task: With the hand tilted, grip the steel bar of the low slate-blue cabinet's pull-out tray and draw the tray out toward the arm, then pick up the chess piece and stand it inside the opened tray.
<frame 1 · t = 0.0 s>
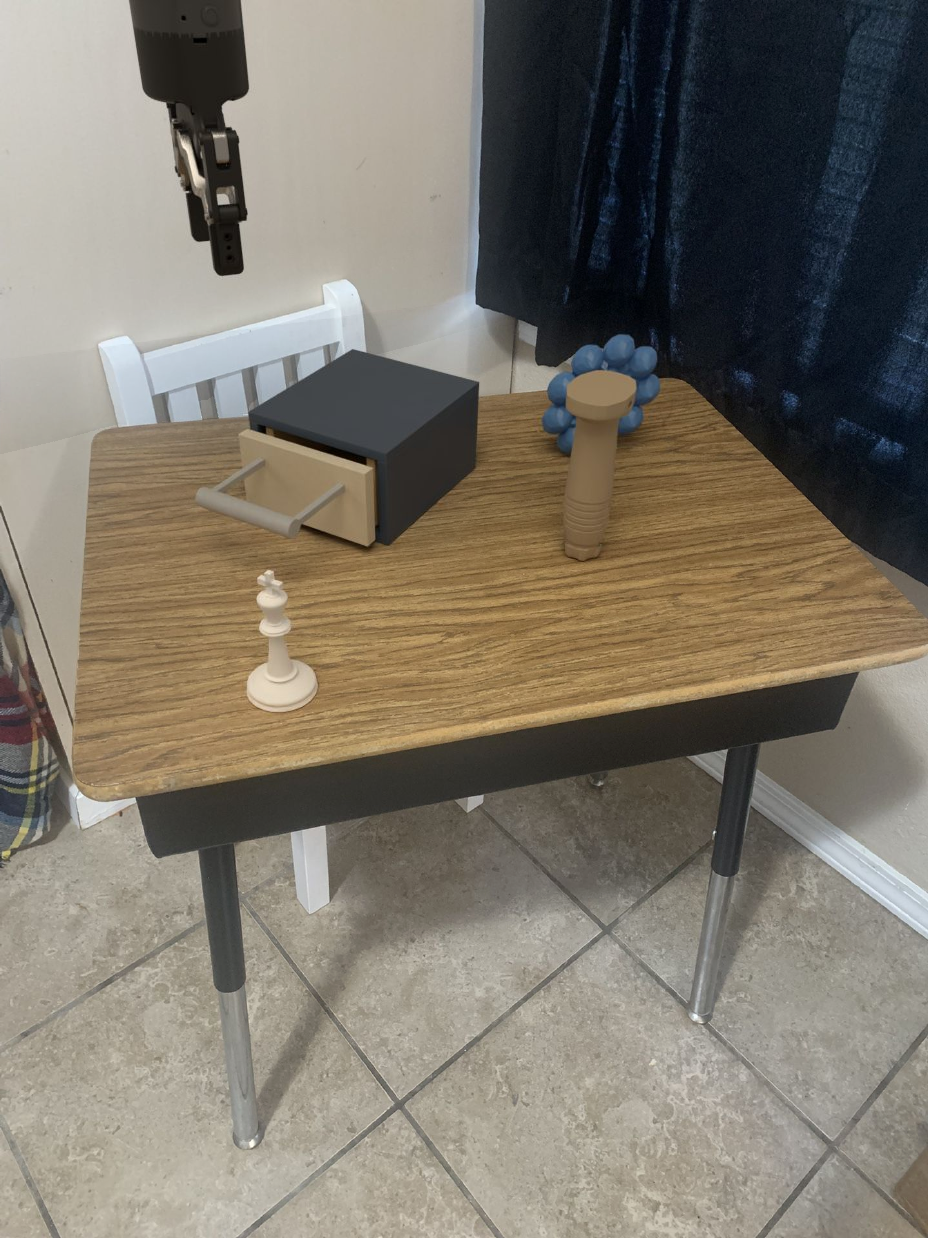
hand: (217, 256, 78), 21 cm above the table, tool pointing down, fingers open, 8 cm apart
handle: (581, 553, 83), on the table
chess piece: (282, 690, 69), on the table
cabinet: (370, 483, 91), on the table
drawer: (326, 472, 84), point 4 cm above the table, slide at 1.0 cm
grapes: (591, 449, 98), on the table
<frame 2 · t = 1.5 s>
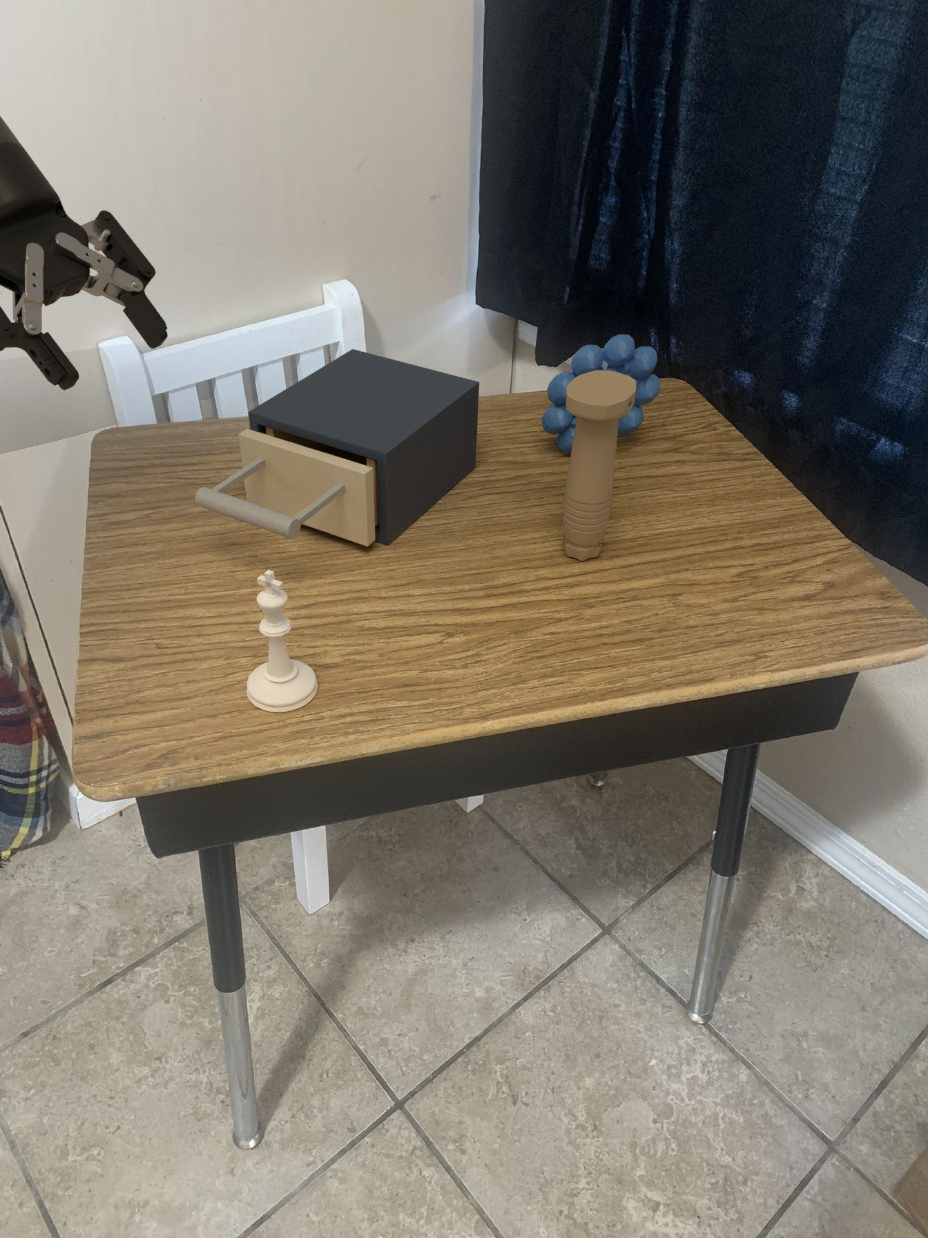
hand: (118, 362, 74), 15 cm above the table, tool tilted 45°, fingers open, 8 cm apart
nothing on the table moved.
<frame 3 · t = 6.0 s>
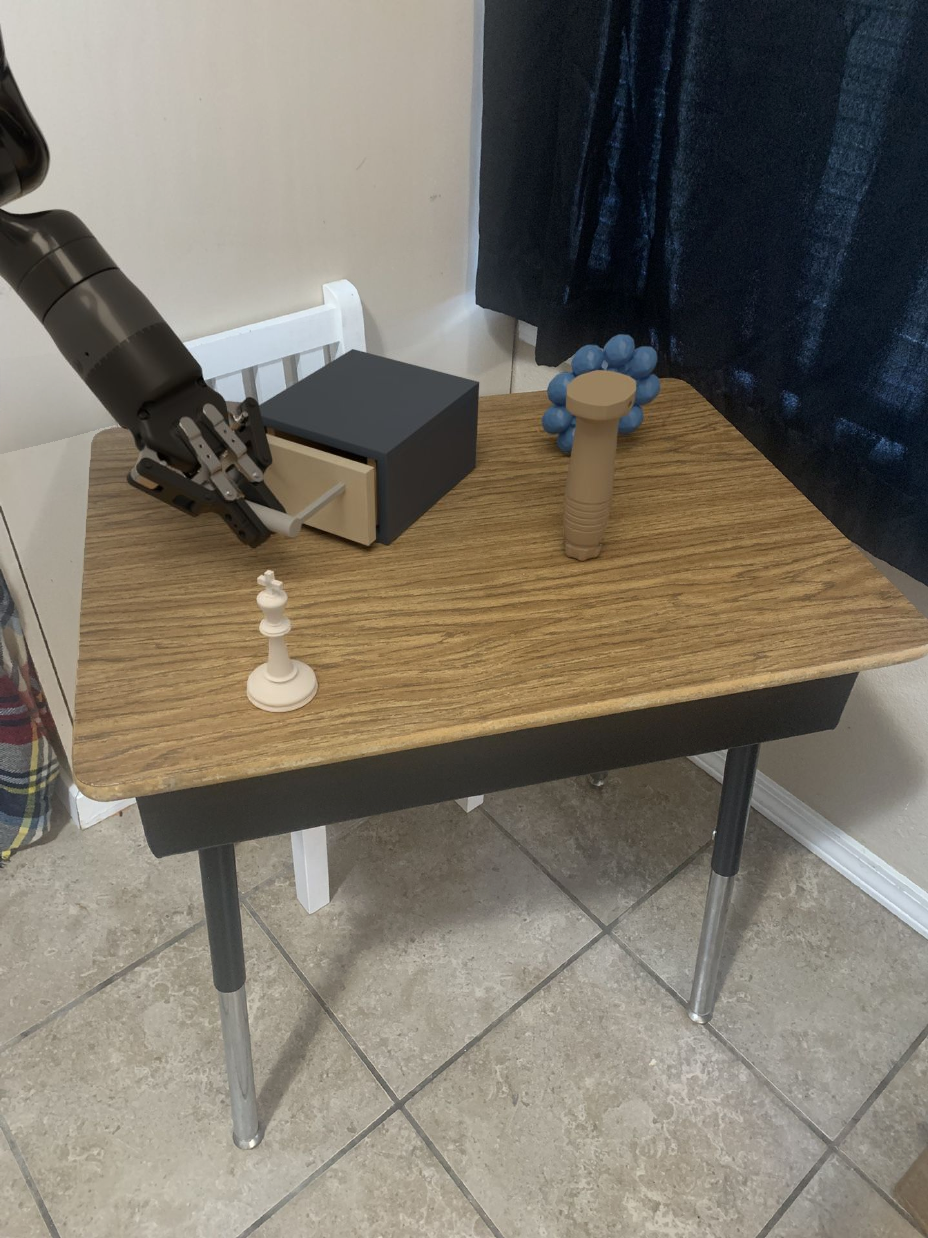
hand: (271, 535, 76), 5 cm above the table, tool tilted 45°, fingers closed on drawer
drawer: (327, 472, 84), point 4 cm above the table, slide at 0.9 cm, touching gripper
everything else where it was.
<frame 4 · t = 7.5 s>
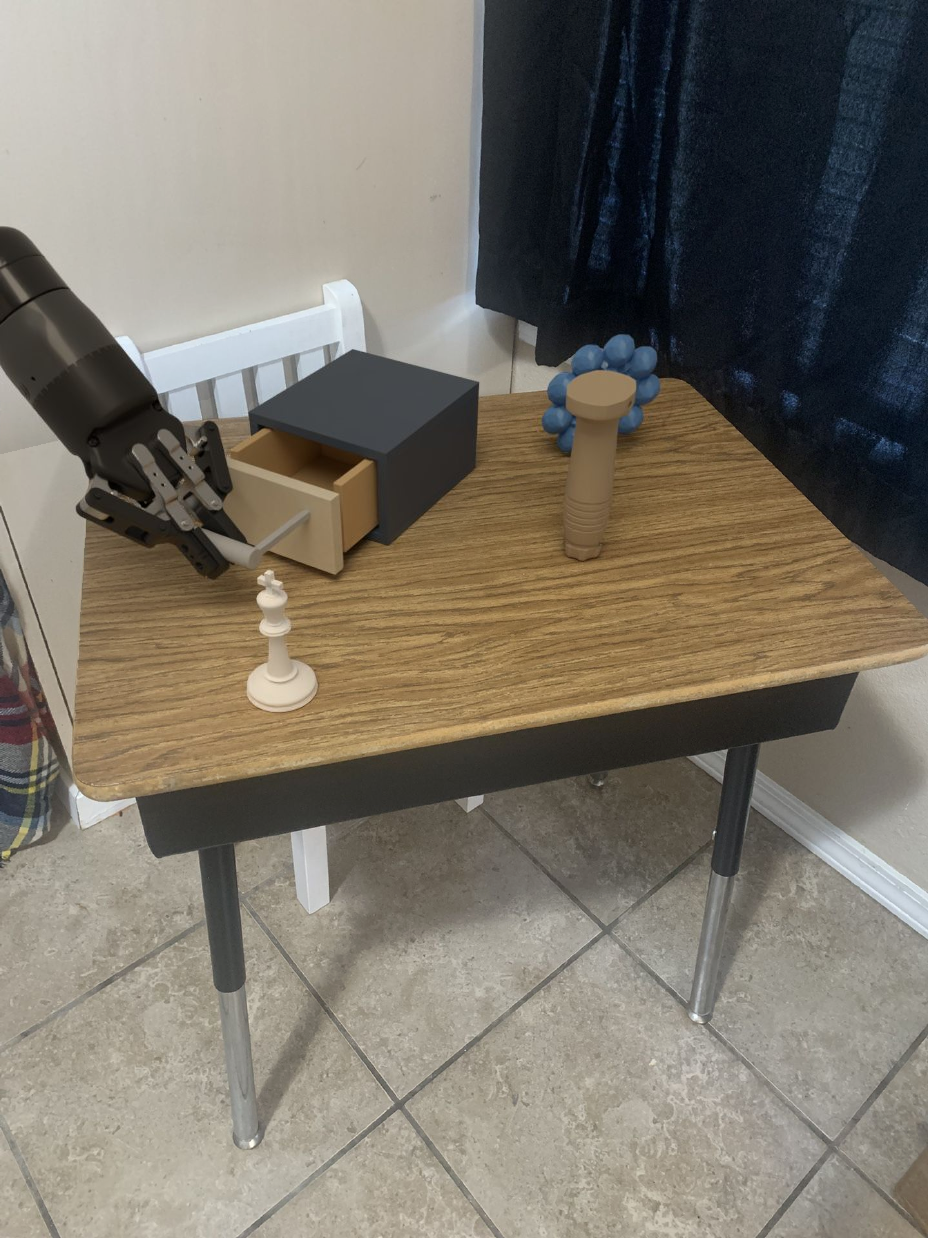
hand: (231, 565, 72), 5 cm above the table, tool tilted 45°, fingers closed on drawer
drawer: (293, 497, 80), point 4 cm above the table, slide at 5.7 cm, touching gripper
everything else where it was.
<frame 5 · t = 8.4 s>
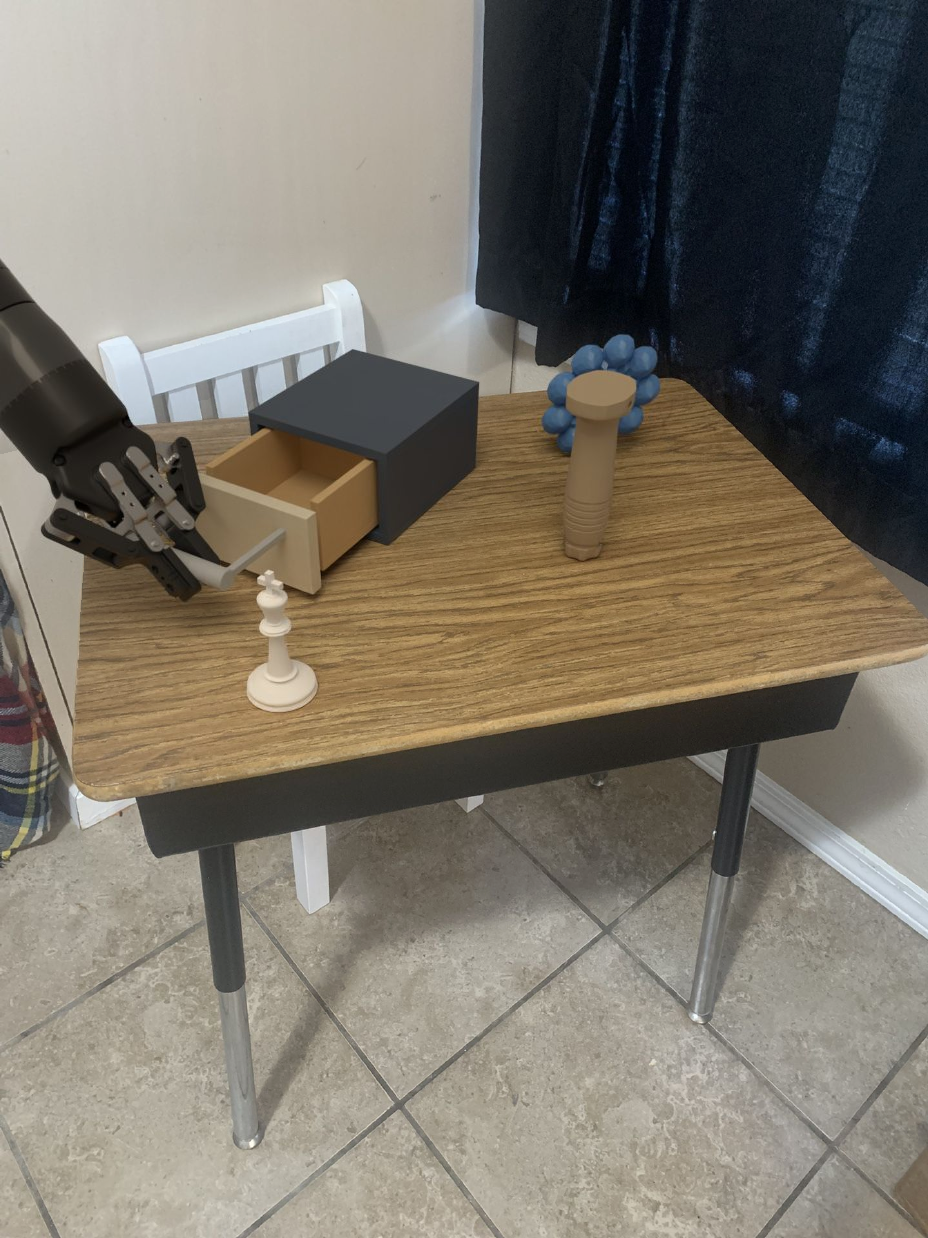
hand: (203, 586, 70), 5 cm above the table, tool tilted 45°, fingers closed on drawer
drawer: (270, 514, 78), point 4 cm above the table, slide at 8.8 cm, touching gripper
everything else where it was.
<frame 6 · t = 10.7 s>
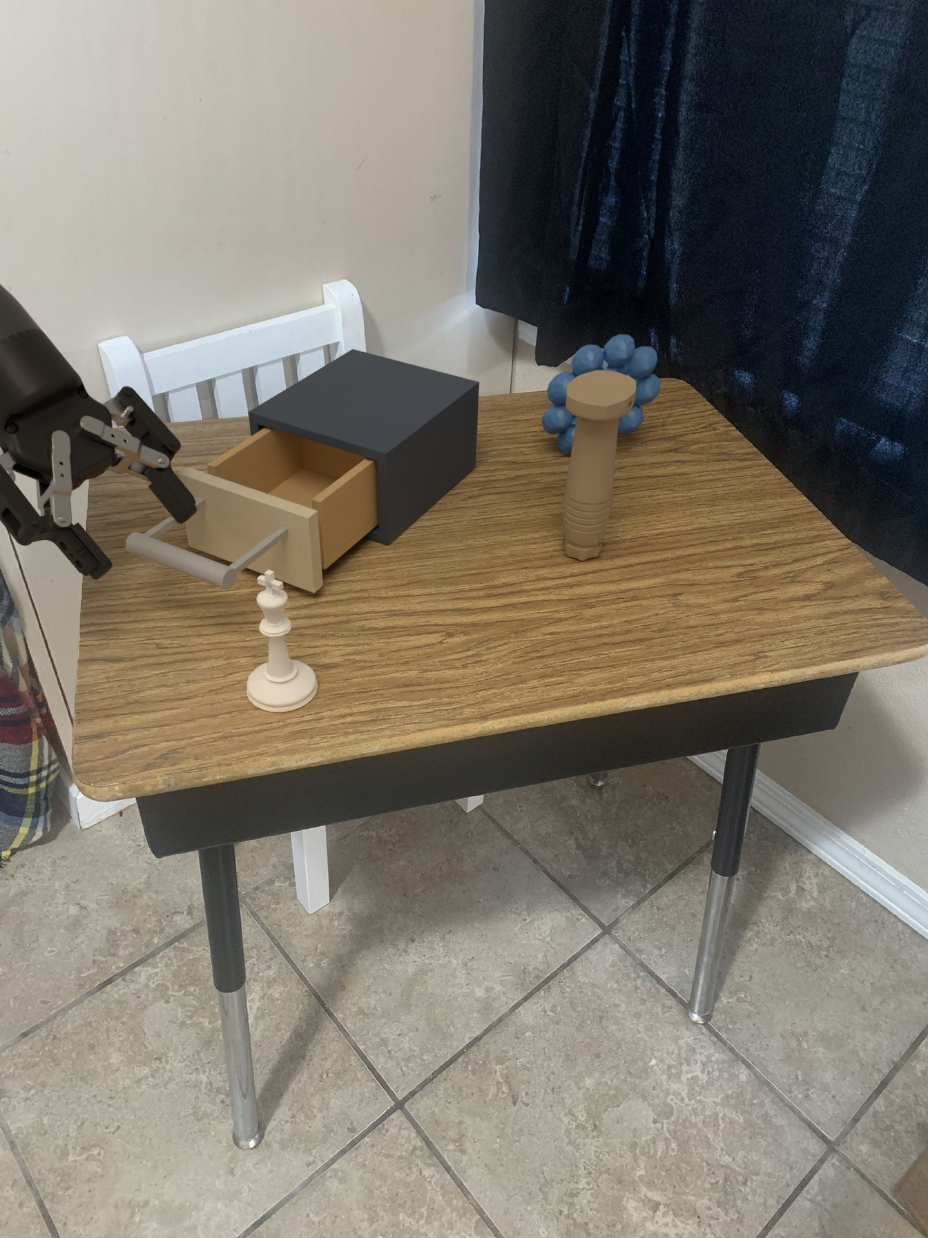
hand: (149, 544, 70), 7 cm above the table, tool tilted 45°, fingers open, 8 cm apart
drawer: (271, 513, 78), point 4 cm above the table, slide at 8.5 cm, touching gripper
everything else where it was.
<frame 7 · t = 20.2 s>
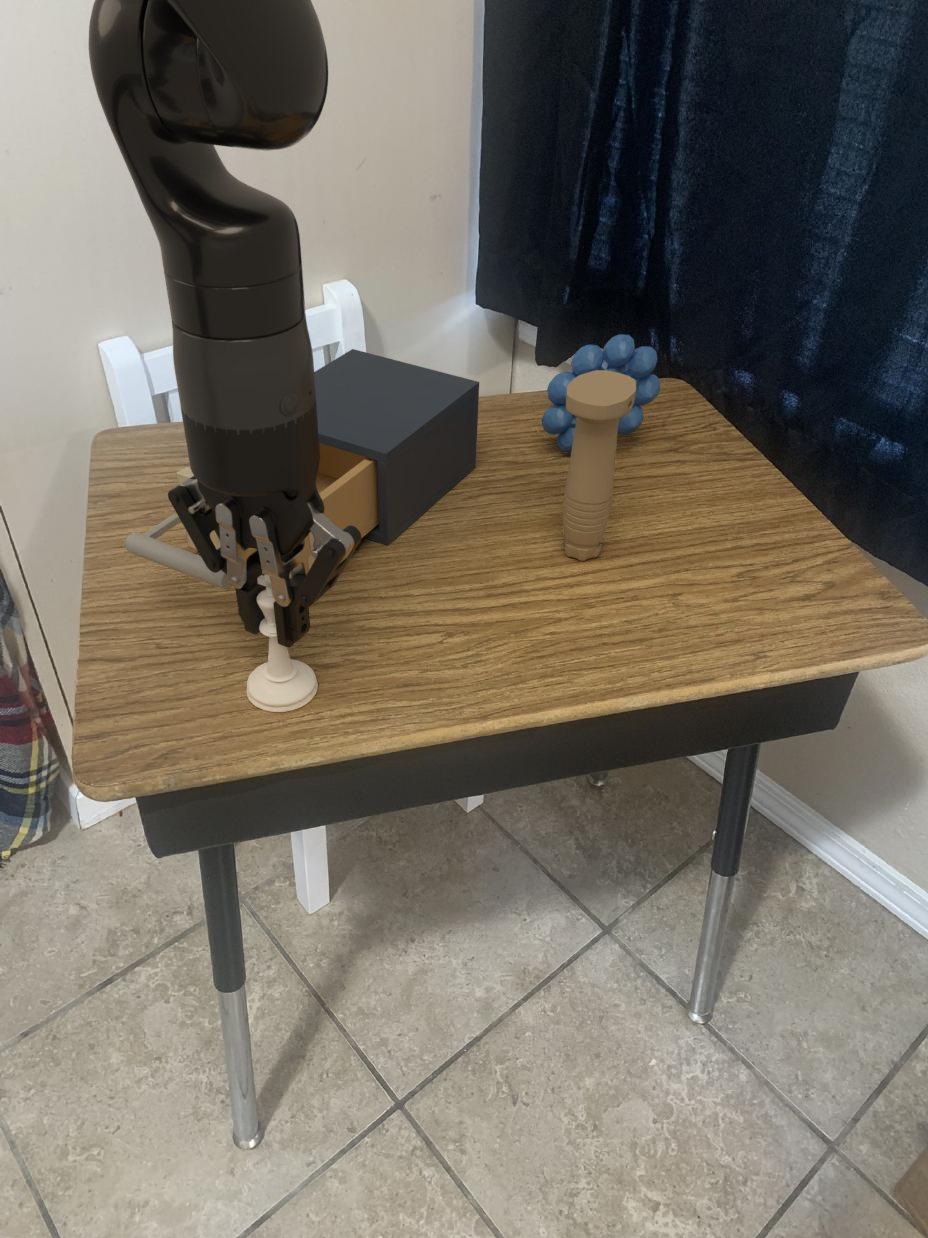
hand: (275, 632, 66), 5 cm above the table, tool pointing down, fingers closed on chess piece
chess piece: (282, 690, 69), on the table, touching gripper
drawer: (271, 513, 78), point 4 cm above the table, slide at 8.6 cm
everything else where it was.
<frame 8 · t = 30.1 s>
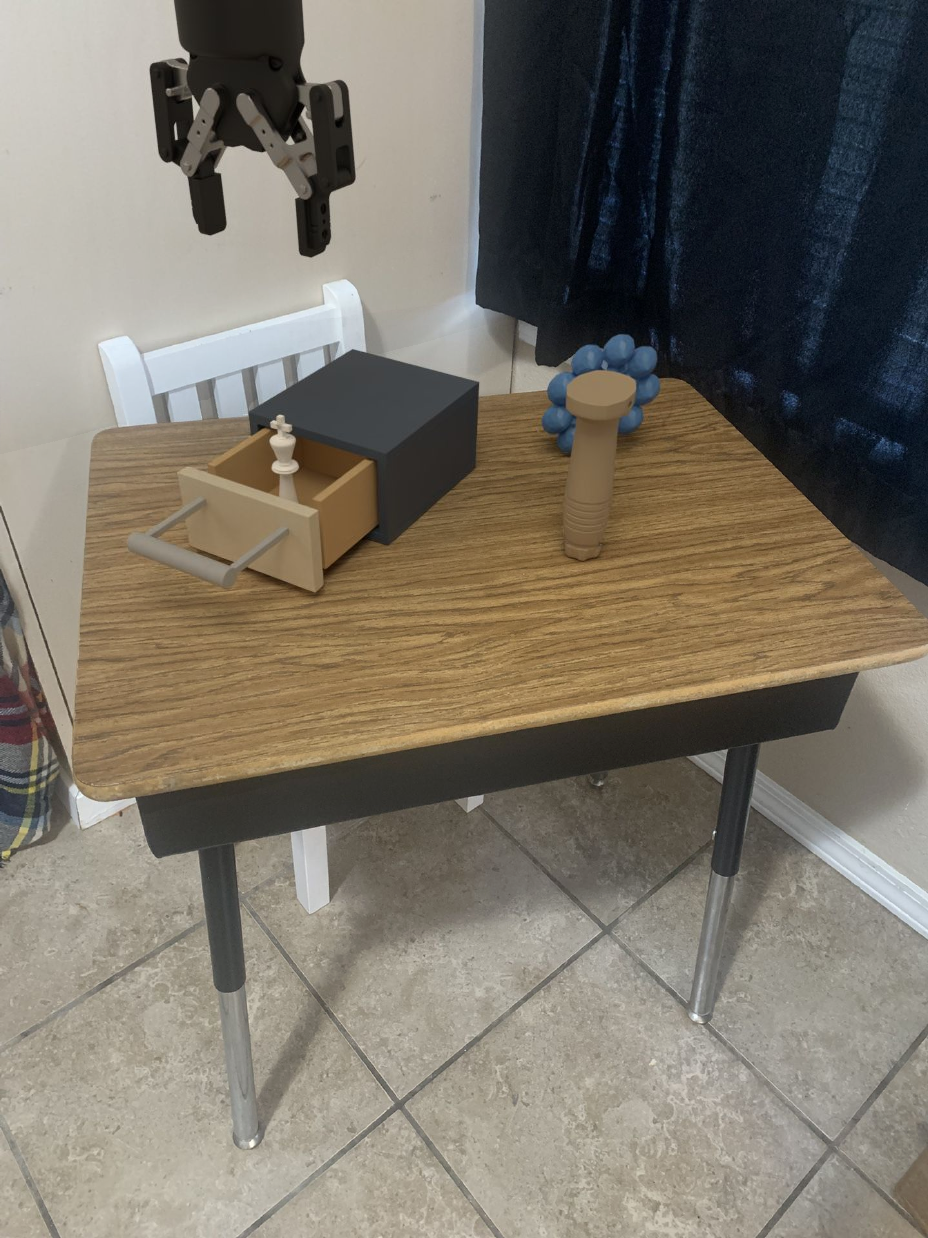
hand: (261, 242, 67), 25 cm above the table, tool pointing down, fingers open, 8 cm apart
chess piece: (291, 528, 81), point 2 cm above the table, touching drawer
drawer: (272, 512, 78), point 4 cm above the table, slide at 8.4 cm, touching chess piece
everything else where it was.
at the end: drawer slide at 8.4 cm; chess piece inside the target area in the drawer (0.2 cm from its centre), point 1.9 cm above the cabinet's base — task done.
